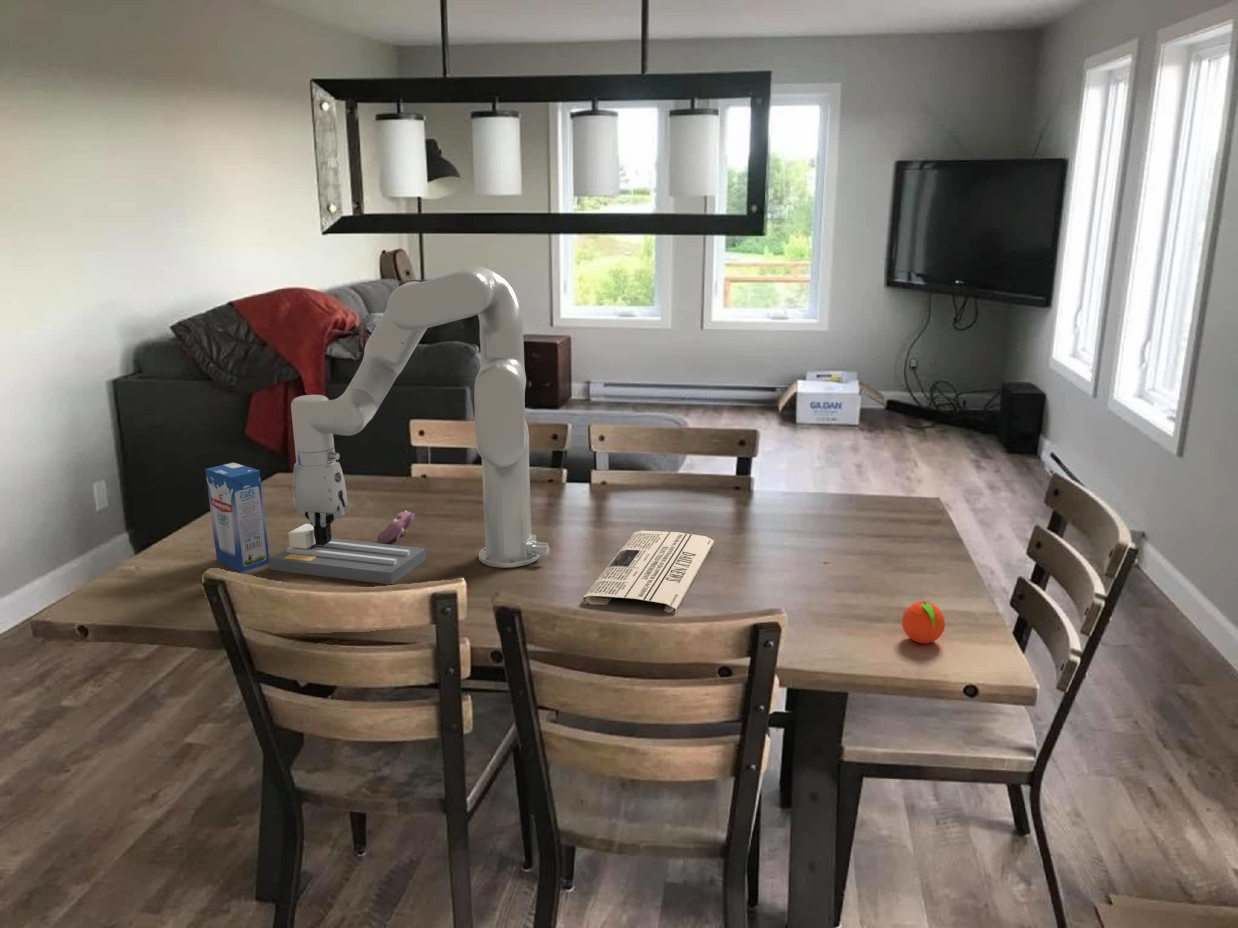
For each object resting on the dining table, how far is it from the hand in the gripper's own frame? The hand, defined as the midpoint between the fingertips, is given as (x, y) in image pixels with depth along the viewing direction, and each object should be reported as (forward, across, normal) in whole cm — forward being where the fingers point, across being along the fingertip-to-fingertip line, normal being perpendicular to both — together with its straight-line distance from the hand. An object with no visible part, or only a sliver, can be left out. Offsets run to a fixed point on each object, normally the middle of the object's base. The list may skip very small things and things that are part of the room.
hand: (323, 542), depth 204 cm
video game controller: (+4, -7, -18) cm, 19 cm away
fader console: (+4, -6, 0) cm, 7 cm away
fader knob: (+1, +4, 0) cm, 4 cm away
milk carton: (+4, +16, +5) cm, 18 cm away
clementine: (+4, -119, +4) cm, 119 cm away
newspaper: (+5, -68, -14) cm, 69 cm away
